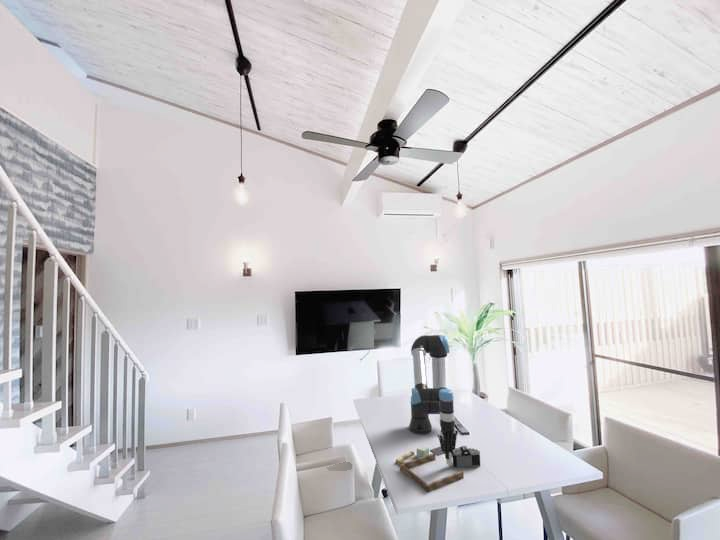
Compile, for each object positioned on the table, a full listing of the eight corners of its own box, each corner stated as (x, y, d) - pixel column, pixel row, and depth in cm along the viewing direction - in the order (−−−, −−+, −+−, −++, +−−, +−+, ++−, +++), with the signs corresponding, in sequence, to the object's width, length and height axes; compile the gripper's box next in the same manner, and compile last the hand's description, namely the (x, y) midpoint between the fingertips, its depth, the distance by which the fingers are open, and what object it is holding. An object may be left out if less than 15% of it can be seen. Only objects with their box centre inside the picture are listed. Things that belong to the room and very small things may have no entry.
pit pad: (440, 447, 200) (440, 446, 200) (448, 452, 194) (448, 451, 194) (429, 450, 196) (429, 449, 196) (437, 455, 190) (437, 454, 190)
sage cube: (421, 454, 193) (421, 445, 193) (429, 456, 190) (428, 447, 190) (417, 457, 189) (416, 448, 189) (424, 460, 186) (424, 451, 186)
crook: (412, 454, 193) (411, 450, 193) (421, 458, 188) (421, 455, 188) (395, 463, 184) (395, 459, 184) (405, 467, 179) (405, 464, 179)
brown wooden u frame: (434, 458, 187) (433, 453, 187) (463, 477, 167) (463, 471, 168) (400, 470, 176) (400, 464, 176) (427, 492, 156) (427, 486, 157)
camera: (477, 459, 185) (476, 440, 185) (482, 468, 176) (481, 448, 176) (449, 459, 185) (448, 441, 186) (453, 468, 176) (452, 449, 177)
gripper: (451, 414, 185) (453, 458, 184) (433, 419, 179) (435, 464, 178) (461, 419, 179) (463, 464, 177) (442, 424, 173) (444, 471, 171)
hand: (449, 464), depth 178 cm, fingers closed
